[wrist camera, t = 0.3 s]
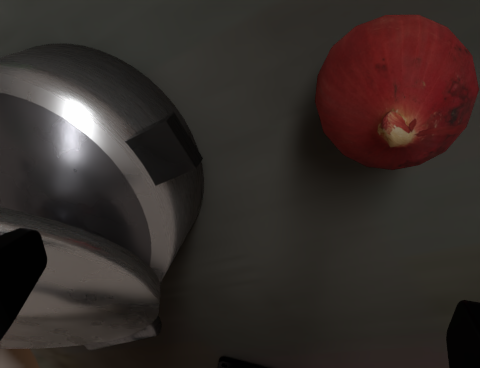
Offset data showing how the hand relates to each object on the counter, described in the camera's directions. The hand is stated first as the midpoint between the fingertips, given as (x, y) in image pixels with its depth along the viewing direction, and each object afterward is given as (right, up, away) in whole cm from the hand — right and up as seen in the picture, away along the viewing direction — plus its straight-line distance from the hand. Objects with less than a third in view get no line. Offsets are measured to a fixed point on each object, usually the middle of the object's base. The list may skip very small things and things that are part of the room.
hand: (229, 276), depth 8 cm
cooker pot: (-9, +3, +17) cm, 20 cm away
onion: (+7, +7, +10) cm, 15 cm away
